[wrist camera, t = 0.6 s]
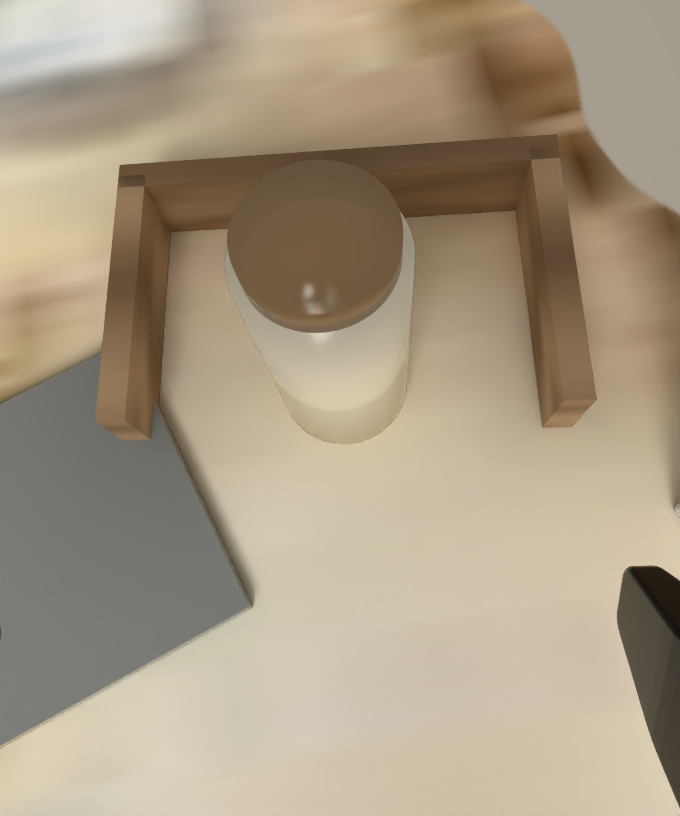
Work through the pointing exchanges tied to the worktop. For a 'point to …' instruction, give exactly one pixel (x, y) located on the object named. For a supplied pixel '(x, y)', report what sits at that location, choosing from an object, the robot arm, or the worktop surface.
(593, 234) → the worktop surface
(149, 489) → the pad
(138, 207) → the wooden u-shaped frame
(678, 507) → the supplement box
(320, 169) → the jar
